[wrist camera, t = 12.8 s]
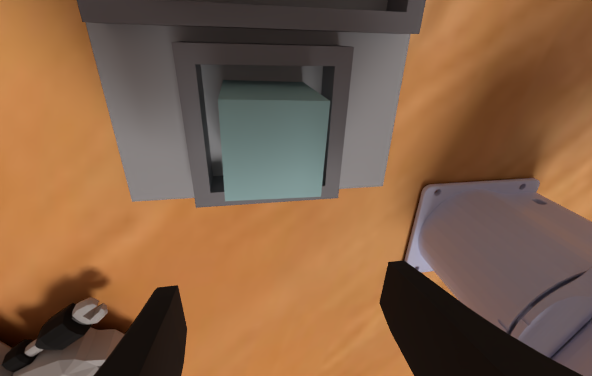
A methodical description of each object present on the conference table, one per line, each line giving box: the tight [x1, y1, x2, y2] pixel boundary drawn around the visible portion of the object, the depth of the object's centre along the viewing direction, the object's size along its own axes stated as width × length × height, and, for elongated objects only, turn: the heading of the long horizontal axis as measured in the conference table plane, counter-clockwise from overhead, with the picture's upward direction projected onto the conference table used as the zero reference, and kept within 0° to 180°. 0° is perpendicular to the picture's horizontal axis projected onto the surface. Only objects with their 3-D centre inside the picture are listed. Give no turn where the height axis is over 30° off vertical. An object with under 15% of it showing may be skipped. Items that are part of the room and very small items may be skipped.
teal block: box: [218, 80, 330, 201], centre depth 14 cm, size 4×4×5 cm
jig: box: [77, 0, 426, 208], centre depth 13 cm, size 15×17×3 cm
